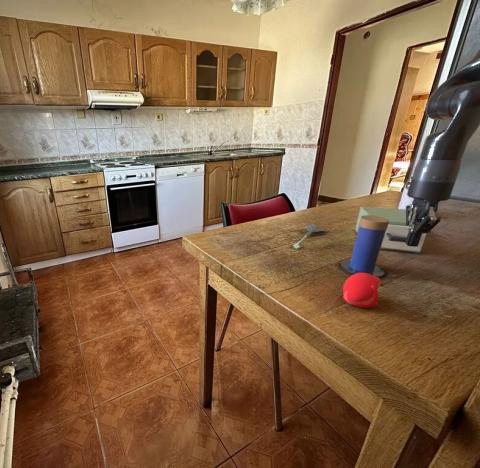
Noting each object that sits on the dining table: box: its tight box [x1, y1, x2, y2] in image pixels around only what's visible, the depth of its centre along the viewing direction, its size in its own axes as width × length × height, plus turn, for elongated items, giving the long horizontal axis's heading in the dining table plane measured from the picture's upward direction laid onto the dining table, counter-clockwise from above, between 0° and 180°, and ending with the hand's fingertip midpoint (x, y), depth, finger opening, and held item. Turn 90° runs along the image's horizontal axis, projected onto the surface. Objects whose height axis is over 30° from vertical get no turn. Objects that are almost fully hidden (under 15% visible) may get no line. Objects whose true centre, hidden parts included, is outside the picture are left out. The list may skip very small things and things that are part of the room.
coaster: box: [340, 259, 385, 279], centre depth 65 cm, size 9×9×1 cm
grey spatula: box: [293, 224, 326, 249], centre depth 84 cm, size 22×3×7 cm
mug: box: [397, 186, 414, 209], centre depth 101 cm, size 12×8×11 cm
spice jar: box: [349, 215, 389, 272], centre depth 63 cm, size 5×5×13 cm
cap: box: [342, 273, 382, 308], centre depth 52 cm, size 8×6×6 cm
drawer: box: [381, 224, 428, 253], centre depth 77 cm, size 19×11×7 cm, turn 156°
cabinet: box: [354, 206, 428, 254], centre depth 80 cm, size 16×13×9 cm
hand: (410, 245), depth 67 cm, fingers closed
